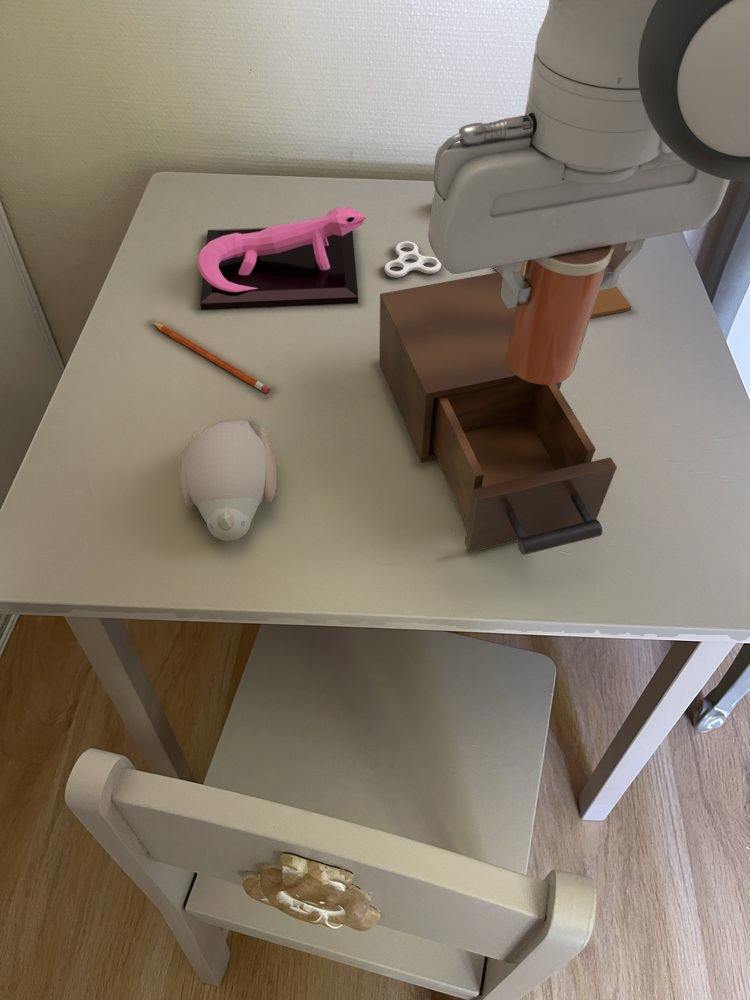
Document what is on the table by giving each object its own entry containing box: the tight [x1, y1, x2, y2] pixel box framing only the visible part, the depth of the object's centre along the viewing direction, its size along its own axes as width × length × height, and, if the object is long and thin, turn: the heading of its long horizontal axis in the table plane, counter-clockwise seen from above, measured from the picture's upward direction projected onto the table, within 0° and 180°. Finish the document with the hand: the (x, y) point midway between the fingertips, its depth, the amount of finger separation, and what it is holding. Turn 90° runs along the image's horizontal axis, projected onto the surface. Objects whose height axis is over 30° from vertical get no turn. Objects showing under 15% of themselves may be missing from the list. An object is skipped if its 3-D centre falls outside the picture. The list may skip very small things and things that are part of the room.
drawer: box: [430, 380, 617, 556], centre depth 70 cm, size 18×12×8 cm
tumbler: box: [505, 245, 614, 385], centre depth 58 cm, size 6×6×11 cm
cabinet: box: [378, 271, 563, 464], centre depth 78 cm, size 15×14×10 cm
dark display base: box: [196, 206, 367, 311], centre depth 92 cm, size 15×20×7 cm
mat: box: [513, 261, 632, 319], centre depth 93 cm, size 12×12×1 cm
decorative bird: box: [178, 419, 278, 542], centre depth 72 cm, size 9×16×8 cm, turn 9°
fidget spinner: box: [383, 240, 442, 278], centre depth 96 cm, size 7×6×1 cm
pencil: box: [153, 322, 271, 395], centre depth 85 cm, size 1×18×1 cm, turn 52°
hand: (558, 293), depth 58 cm, fingers closed on tumbler, 6 cm apart
